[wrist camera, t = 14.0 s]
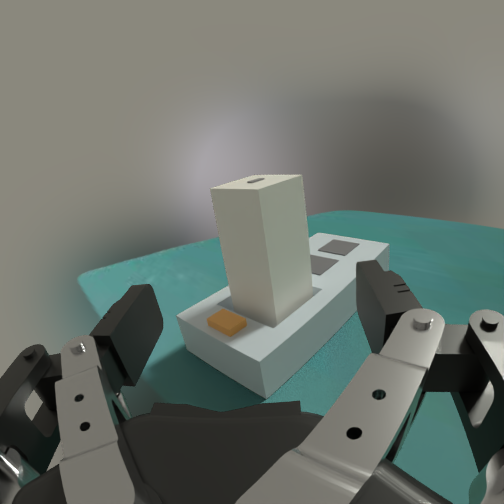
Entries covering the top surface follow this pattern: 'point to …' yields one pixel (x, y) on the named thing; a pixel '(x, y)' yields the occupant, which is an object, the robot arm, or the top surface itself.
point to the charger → (265, 245)
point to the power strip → (288, 331)
